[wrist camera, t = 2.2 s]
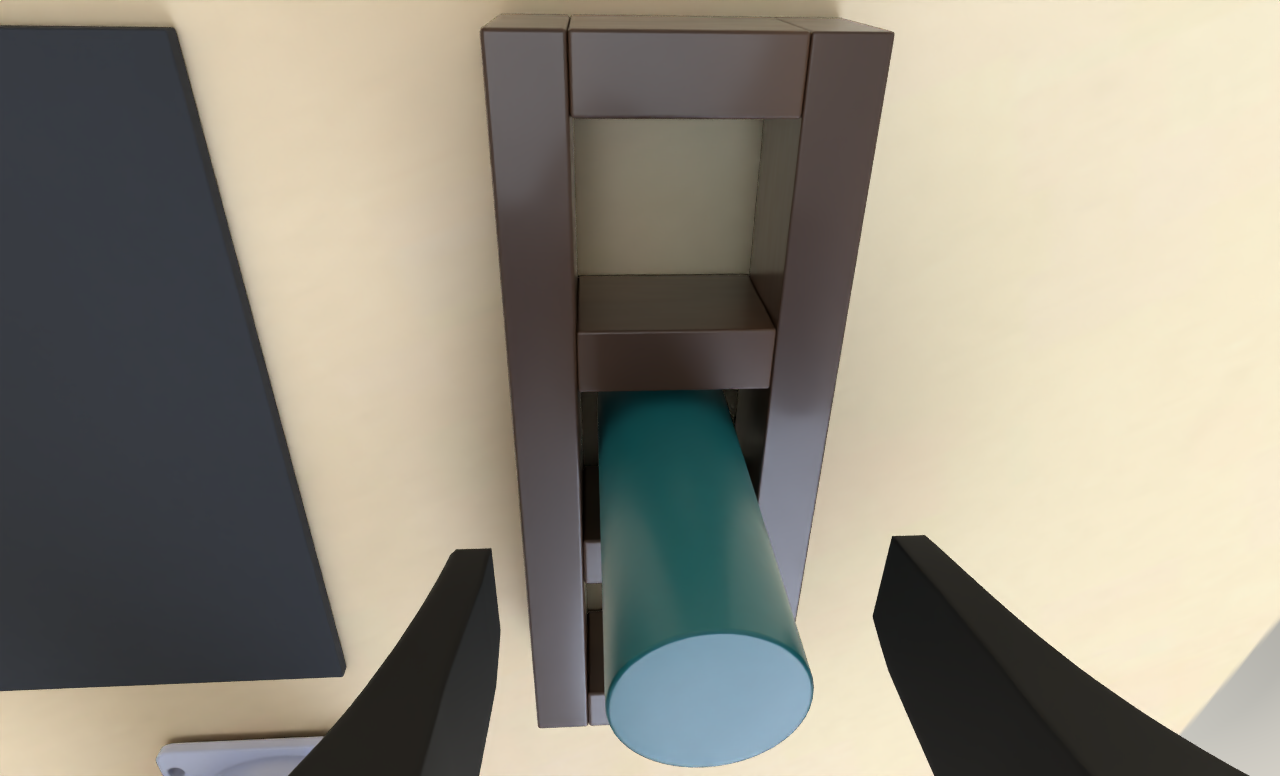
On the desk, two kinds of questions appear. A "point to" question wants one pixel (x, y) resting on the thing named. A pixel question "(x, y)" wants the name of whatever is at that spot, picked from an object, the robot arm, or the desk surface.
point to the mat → (135, 391)
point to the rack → (671, 279)
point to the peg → (690, 587)
